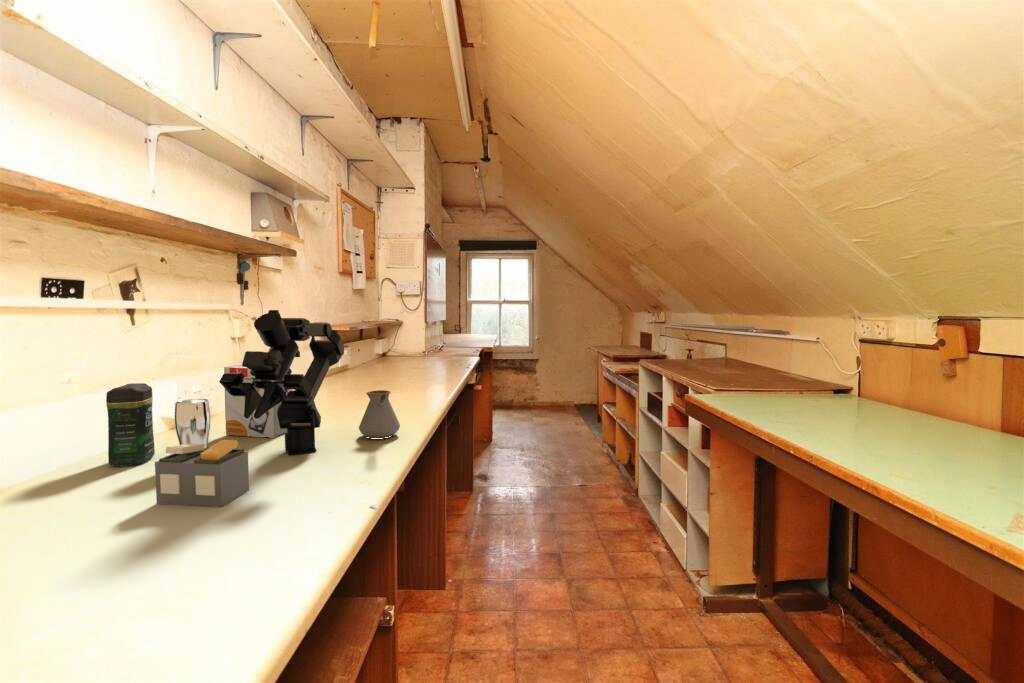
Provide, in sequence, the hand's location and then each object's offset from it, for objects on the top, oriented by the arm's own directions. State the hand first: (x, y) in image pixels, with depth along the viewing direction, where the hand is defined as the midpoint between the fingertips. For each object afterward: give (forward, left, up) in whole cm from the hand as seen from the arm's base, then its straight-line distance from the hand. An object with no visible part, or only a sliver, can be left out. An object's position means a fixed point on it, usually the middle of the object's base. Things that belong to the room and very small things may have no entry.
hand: (250, 417), depth 102 cm
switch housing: (+8, +6, -14) cm, 17 cm away
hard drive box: (-3, -42, -14) cm, 44 cm away
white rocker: (+11, +4, -4) cm, 13 cm away
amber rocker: (+5, +8, -4) cm, 10 cm away
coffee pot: (-32, -18, -14) cm, 39 cm away
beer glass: (+11, -18, -14) cm, 25 cm away
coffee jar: (+24, -28, -14) cm, 40 cm away
